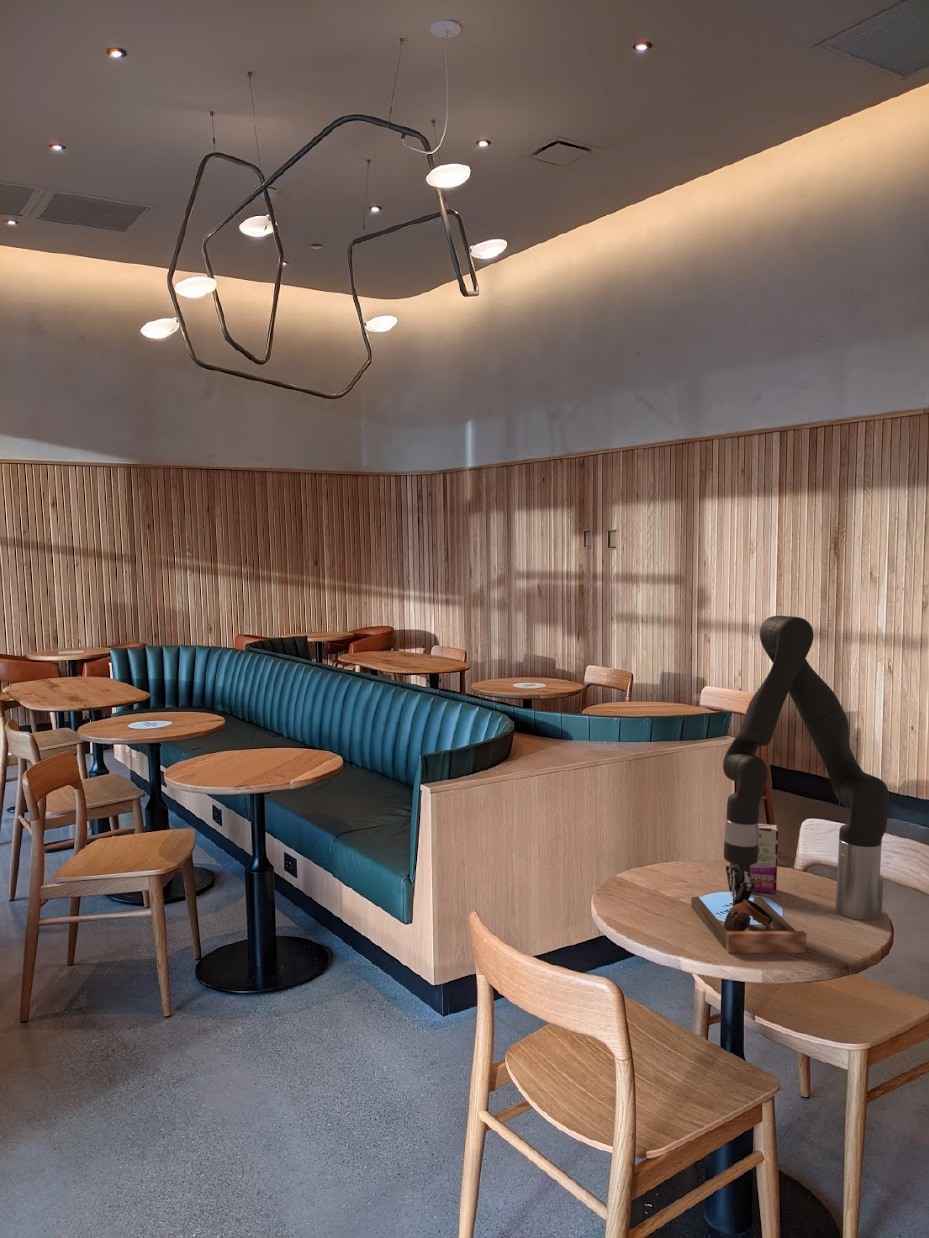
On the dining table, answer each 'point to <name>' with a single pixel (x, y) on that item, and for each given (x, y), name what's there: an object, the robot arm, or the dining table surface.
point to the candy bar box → (766, 860)
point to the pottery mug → (746, 916)
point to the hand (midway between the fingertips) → (738, 914)
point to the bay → (754, 933)
